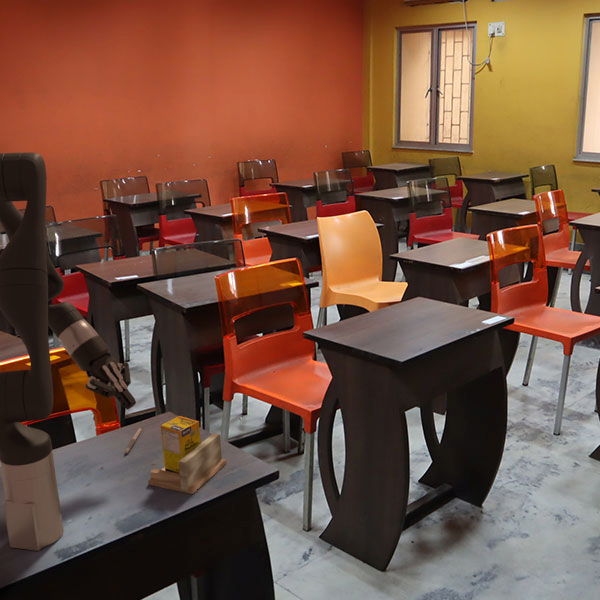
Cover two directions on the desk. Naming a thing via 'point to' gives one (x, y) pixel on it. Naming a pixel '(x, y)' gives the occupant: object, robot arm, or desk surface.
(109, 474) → the desk surface
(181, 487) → the backstop pocket
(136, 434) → the pen
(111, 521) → the desk surface
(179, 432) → the supplement box
